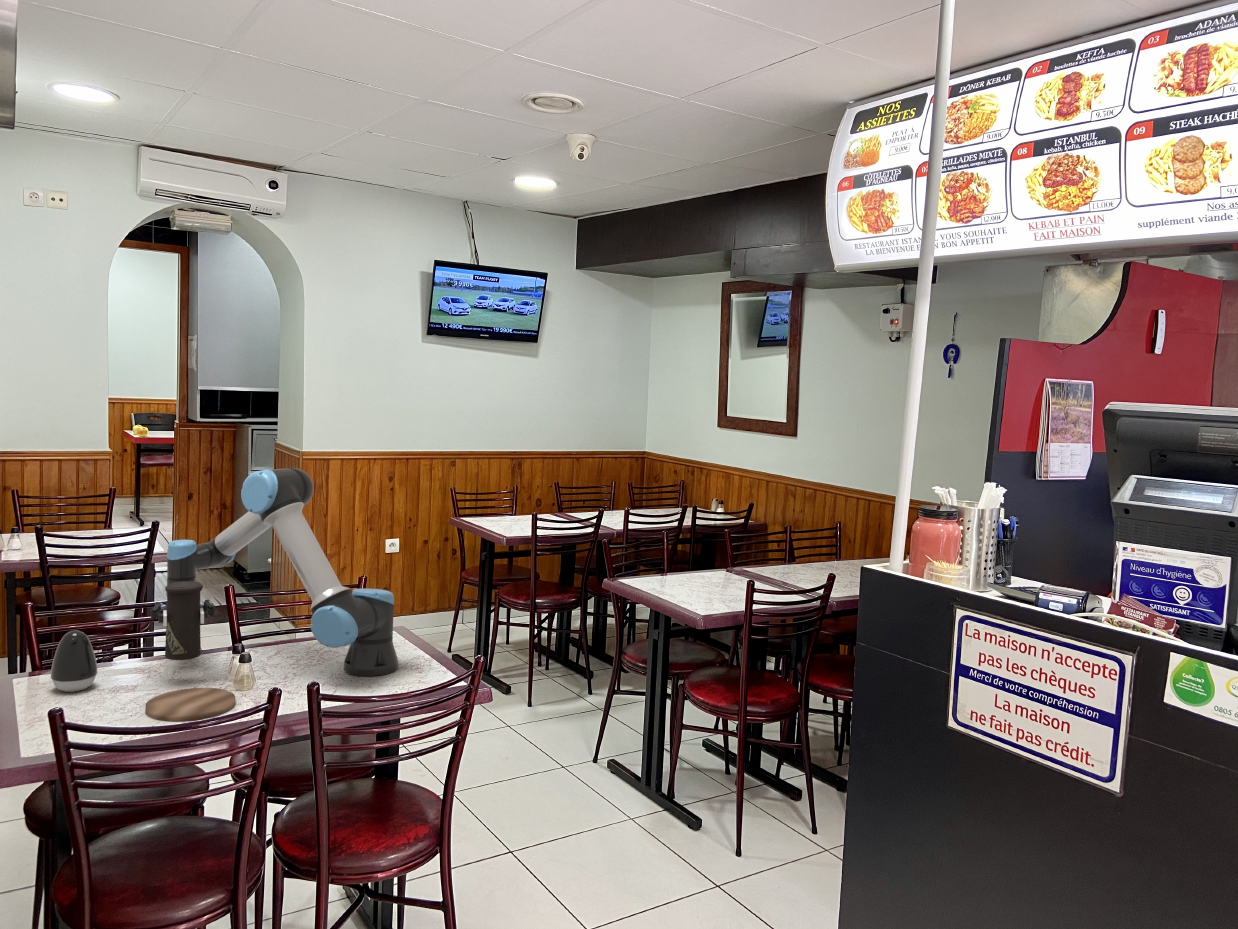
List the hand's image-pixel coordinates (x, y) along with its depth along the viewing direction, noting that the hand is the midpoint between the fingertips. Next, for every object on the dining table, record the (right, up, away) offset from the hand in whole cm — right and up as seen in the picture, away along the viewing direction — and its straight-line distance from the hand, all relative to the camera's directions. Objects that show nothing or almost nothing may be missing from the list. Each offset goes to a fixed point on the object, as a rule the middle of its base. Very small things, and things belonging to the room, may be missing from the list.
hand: (183, 619), depth 231 cm
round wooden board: (+8, -19, -12) cm, 24 cm away
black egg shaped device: (-26, -17, -4) cm, 32 cm away
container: (-3, -11, +5) cm, 12 cm away
